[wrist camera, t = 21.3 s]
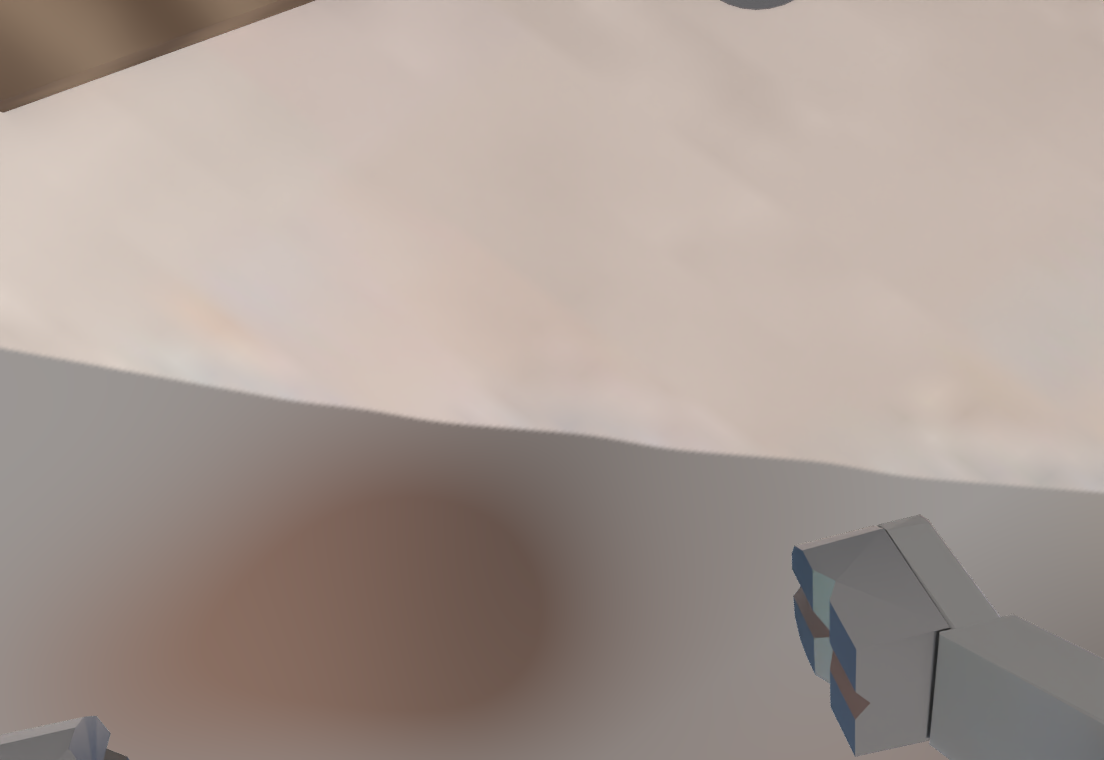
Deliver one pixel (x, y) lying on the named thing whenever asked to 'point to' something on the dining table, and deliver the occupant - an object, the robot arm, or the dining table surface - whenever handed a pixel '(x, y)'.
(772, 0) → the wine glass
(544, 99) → the dining table surface
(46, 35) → the walnut board
